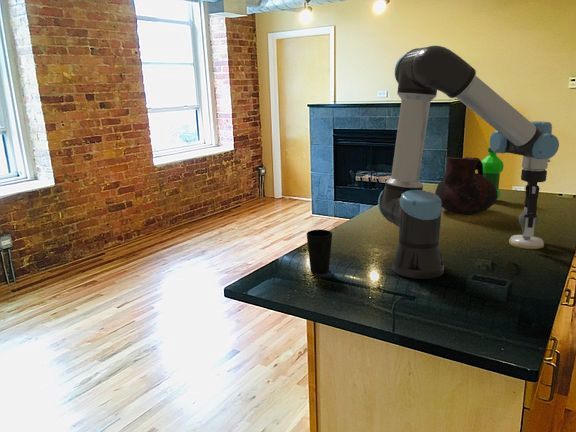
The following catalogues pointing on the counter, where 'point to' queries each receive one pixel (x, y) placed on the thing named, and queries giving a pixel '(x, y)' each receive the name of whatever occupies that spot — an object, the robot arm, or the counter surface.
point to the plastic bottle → (492, 169)
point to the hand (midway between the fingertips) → (527, 230)
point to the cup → (319, 250)
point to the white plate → (526, 242)
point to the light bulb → (522, 223)
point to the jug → (465, 187)
